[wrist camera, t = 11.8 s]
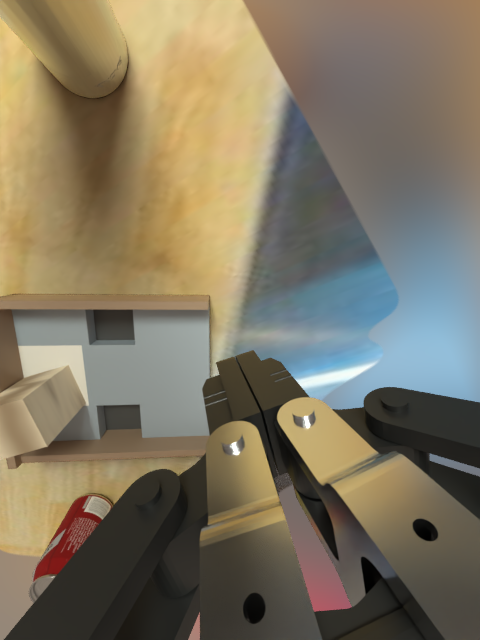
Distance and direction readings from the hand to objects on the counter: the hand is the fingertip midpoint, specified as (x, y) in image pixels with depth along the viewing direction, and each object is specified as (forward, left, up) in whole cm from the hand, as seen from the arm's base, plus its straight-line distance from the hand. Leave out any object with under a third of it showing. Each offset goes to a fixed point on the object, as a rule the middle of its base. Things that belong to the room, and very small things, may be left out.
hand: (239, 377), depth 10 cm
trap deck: (-2, -19, -29) cm, 35 cm away
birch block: (-6, -26, -27) cm, 38 cm away
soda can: (+11, -41, -29) cm, 52 cm away
